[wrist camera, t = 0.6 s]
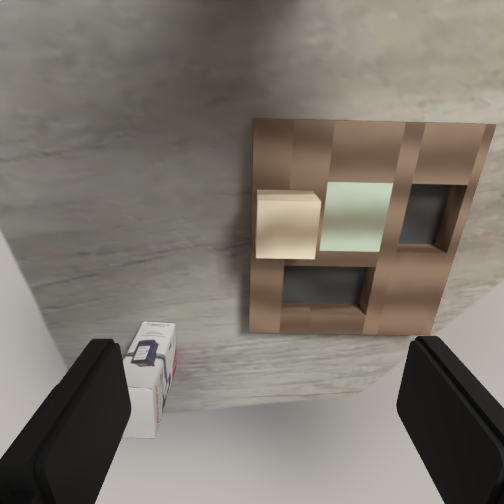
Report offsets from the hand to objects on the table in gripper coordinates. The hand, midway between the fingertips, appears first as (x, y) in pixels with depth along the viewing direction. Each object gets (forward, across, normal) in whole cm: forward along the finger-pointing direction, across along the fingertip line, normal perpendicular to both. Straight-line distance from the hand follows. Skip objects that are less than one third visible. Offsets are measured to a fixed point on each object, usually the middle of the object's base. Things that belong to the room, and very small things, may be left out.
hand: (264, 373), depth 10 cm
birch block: (+26, -3, +2) cm, 26 cm away
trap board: (+29, -12, +5) cm, 31 cm away
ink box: (+30, +14, +22) cm, 40 cm away
